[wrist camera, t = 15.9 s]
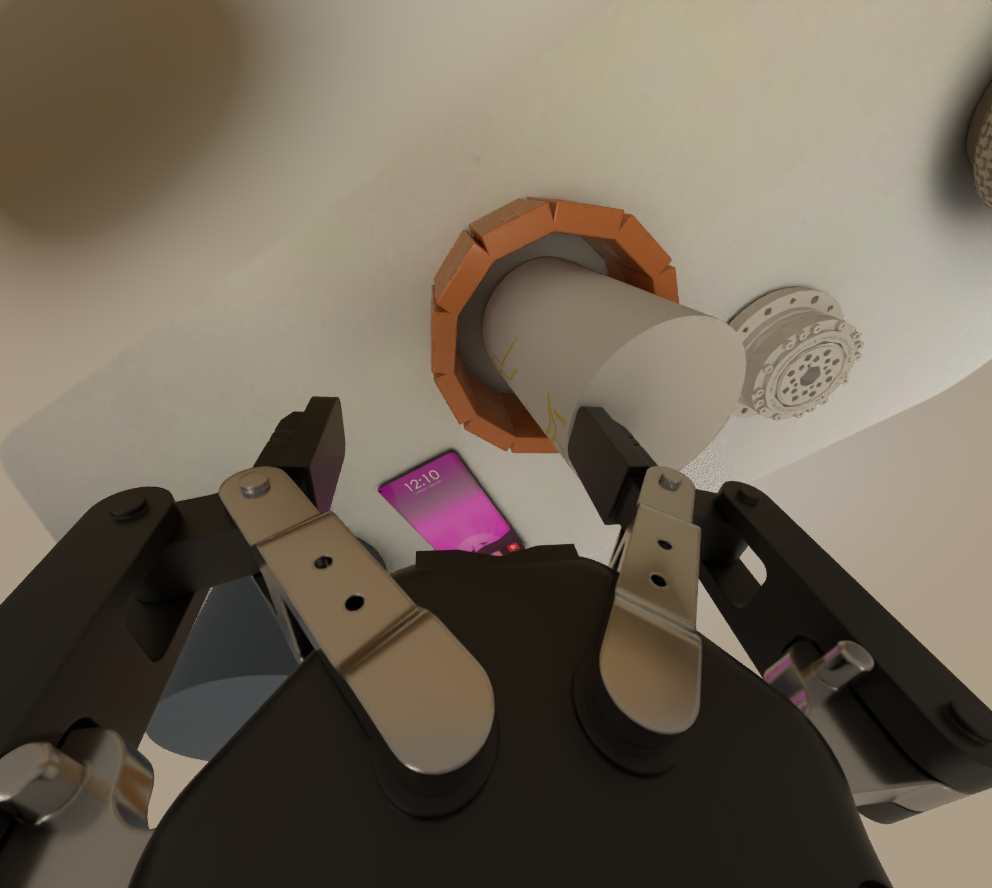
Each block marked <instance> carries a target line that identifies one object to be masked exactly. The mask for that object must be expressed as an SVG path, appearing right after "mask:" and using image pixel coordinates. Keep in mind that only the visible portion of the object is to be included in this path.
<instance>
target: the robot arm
mask: <svg viewBox="0 0 992 888" xmlns="http://www.w3.org/2000/svg"><path fill="white" fill-rule="evenodd" d="M344 457H345V434H344V426H343V418H342V410H341V402H340V399H339V397H319V396H313V397H312V398H311V399H310V401H309V403H308V405H307V407H306V409H305V411H304V412H292V413H291V414H289V415H288V416H286V417H285V418H283V419H282V420H281V421H280V422H279V424H278V426H277V427H276V429H275V433H274V432H273V434H272V436H271V437H270V441H268V442H267V444H266V446H265V447H264V449H263V451H262V452H261V454H260V456H259V457H258V459H257V461H256V462H255V464H254V466H253V467H252V468H249V469H246V470H243V471H240V472H238V473H236V474H234V475H232V476H231V477H229V478H228V479H227V480H225V481H224V482H223V483H222V485H221V486H220V488H219V493H216V494H212V495H208V496H203V497H198V498H193V499H188V500H183V501H178V502H175V500H174V498H173V496H172V494H171V493H170V492H169V491H168V490H166V489H164V488H160V487H139V488H133V489H129V490H125V491H122V492H119V493H116V494H114V495H111V496H109V497H107V498H105V499H103V500H101V501H100V502H98V503H97V504H95V505H94V506H92V507H91V508H90V509H89V510H88V511H87V512H86V513H85V514H84V515H83V516H82V517H81V518H80V520H79V521H78V522H77V523H76V524H75V525H74V526H73V527H72V528H71V529H70V530H69V531H68V533H67V534H66V535H65V536H64V537H63V538H62V539H61V540H60V541H59V542H58V543H57V544H56V545H55V547H54V548H53V549H52V550H51V551H50V552H49V553H48V554H47V555H46V556H45V557H44V559H43V560H42V561H41V562H40V563H39V564H38V565H37V566H36V567H35V568H34V569H33V570H32V571H31V572H30V574H29V575H28V576H27V577H26V578H25V579H24V580H23V581H22V582H21V583H20V584H19V585H18V586H17V588H16V589H15V590H14V591H13V592H12V593H11V594H10V595H9V596H8V597H7V598H6V600H5V601H4V602H3V603H2V604H1V605H0V888H893V886H892V884H891V882H890V881H889V879H888V877H887V875H886V873H885V871H884V869H883V867H882V865H881V863H880V861H879V859H878V857H877V855H876V853H875V851H874V849H873V846H872V844H871V842H870V840H869V838H868V835H867V833H866V831H865V828H864V826H863V823H862V821H861V818H860V816H859V813H860V814H862V815H864V816H865V817H867V818H869V819H871V820H873V821H875V822H878V823H882V824H892V823H894V822H897V821H900V820H903V819H905V818H908V817H911V816H914V815H917V814H920V813H922V812H925V811H928V810H930V809H934V808H936V807H939V806H942V805H945V804H948V803H950V802H953V801H956V800H959V799H961V798H964V797H967V796H970V795H973V794H975V793H978V792H981V791H984V790H987V789H989V788H992V711H991V710H990V709H989V708H988V707H987V706H986V705H985V704H984V703H983V702H982V701H981V700H980V699H979V698H978V697H976V695H975V694H973V693H972V692H971V691H970V690H969V689H968V688H967V687H966V686H965V685H964V684H963V683H962V682H961V681H960V680H959V679H958V678H957V677H956V676H955V675H954V674H953V673H952V672H951V671H950V670H948V669H947V668H946V667H945V666H944V665H943V664H942V663H941V662H940V661H939V660H938V659H937V658H936V657H935V656H934V655H933V654H932V653H931V652H929V650H928V649H926V647H924V646H923V645H922V644H921V643H920V642H919V641H918V640H917V639H916V638H915V637H914V636H913V635H912V634H911V633H910V632H909V631H908V630H907V629H905V627H904V626H903V625H901V623H900V622H898V621H897V620H896V619H895V618H894V617H893V616H892V615H891V614H890V613H889V612H888V611H887V610H886V609H885V608H884V607H883V606H882V605H881V604H880V603H879V602H878V601H876V600H875V598H873V597H872V596H871V595H870V594H869V593H868V592H867V591H866V590H865V589H864V588H863V587H862V586H861V585H860V584H859V583H858V582H857V581H856V580H855V579H854V578H853V577H852V576H850V575H849V574H848V573H847V572H846V571H845V570H844V569H843V568H842V567H841V566H840V565H839V564H838V563H837V562H836V561H835V560H834V559H833V558H832V557H831V556H830V555H829V554H827V552H826V551H824V550H823V549H822V548H821V547H820V546H819V545H818V544H817V543H816V542H815V541H814V540H813V539H812V538H811V537H810V536H809V535H808V534H807V533H806V532H805V531H804V530H803V529H802V528H801V527H799V526H798V525H797V524H796V523H795V522H794V521H793V520H792V519H791V518H790V517H789V516H788V515H787V514H786V513H785V512H784V511H783V510H782V509H781V508H779V506H778V505H776V504H775V503H774V502H773V501H772V500H771V499H770V498H769V497H768V496H767V495H766V494H764V493H763V492H762V491H760V490H758V489H757V488H755V487H753V486H750V485H748V484H745V483H742V482H737V481H728V482H725V483H724V484H723V485H722V487H721V488H720V490H719V491H718V493H713V492H708V491H703V490H699V489H695V486H694V484H693V482H692V481H691V480H690V479H689V478H688V477H687V476H685V475H684V474H682V473H681V472H679V471H677V470H675V469H672V468H669V467H664V466H658V465H657V463H656V462H655V461H654V460H653V459H652V458H651V456H650V455H649V454H648V453H647V452H646V451H645V449H644V448H643V447H642V446H640V443H639V442H638V441H637V440H636V439H634V436H633V435H632V434H631V433H630V432H629V430H628V429H627V428H625V427H624V426H622V425H621V424H619V423H618V422H616V421H614V420H613V419H612V418H611V417H610V415H609V414H608V413H607V412H606V411H605V409H604V408H603V407H592V406H581V407H580V408H579V409H578V411H577V414H576V417H575V421H574V425H573V428H572V432H571V435H570V439H569V442H568V457H569V460H570V462H571V463H572V465H573V467H574V469H575V471H576V473H577V474H578V476H579V478H580V480H581V482H582V484H583V486H584V487H585V489H586V491H587V493H588V495H589V497H590V498H591V500H592V502H593V504H594V506H595V508H596V510H597V511H598V513H599V515H600V517H601V519H602V521H603V522H604V524H605V525H614V524H620V526H621V529H620V532H619V534H618V536H617V539H616V543H615V546H614V549H613V552H612V555H611V558H610V561H609V564H608V566H606V565H604V564H602V563H600V562H597V561H595V560H592V559H588V558H585V557H580V556H578V553H577V551H576V549H575V546H574V544H560V545H540V546H534V547H531V548H527V549H524V550H520V551H517V552H514V553H510V554H507V555H503V556H495V555H489V554H482V553H476V552H470V551H464V550H458V549H456V550H435V551H416V564H415V565H411V566H408V567H405V568H403V569H400V570H398V571H396V572H394V573H392V574H390V575H389V574H388V573H387V572H386V570H385V569H384V568H383V567H382V566H381V565H380V564H379V563H378V561H377V560H376V559H375V558H374V557H373V556H372V555H371V554H370V552H369V551H368V550H367V549H366V548H365V547H364V546H363V545H362V543H361V542H360V541H359V540H358V539H357V538H356V537H355V536H354V535H353V533H352V532H351V531H350V530H349V529H348V528H347V527H346V526H345V524H344V523H343V522H342V521H341V520H340V519H339V518H338V517H337V515H336V514H335V513H333V512H332V511H330V507H331V503H332V500H333V496H334V493H335V489H336V485H337V482H338V478H339V475H340V471H341V468H342V464H343V461H344ZM748 545H749V546H750V548H751V549H752V550H753V551H754V552H755V554H756V555H757V556H758V557H759V558H760V559H761V561H762V562H763V563H764V565H765V568H766V571H767V577H766V580H765V582H764V583H763V585H762V586H761V585H760V584H759V583H758V581H757V580H756V579H755V578H754V577H753V575H752V574H751V573H750V571H749V570H748V569H747V568H746V566H745V565H744V564H743V562H742V561H741V560H740V559H739V557H740V556H741V555H742V553H743V552H744V551H745V549H746V548H747V547H748ZM247 576H250V577H251V578H252V580H253V582H254V584H255V585H256V587H257V589H258V590H259V592H260V594H261V596H262V597H263V599H264V601H265V602H266V604H267V606H268V607H269V609H270V611H271V613H272V614H273V616H274V618H275V619H276V621H277V623H278V625H279V626H280V628H281V630H282V632H283V634H284V636H285V638H286V641H287V643H288V645H289V647H290V649H291V651H292V653H293V655H294V657H295V659H296V661H297V662H298V664H299V666H298V667H297V668H296V669H295V670H294V671H293V672H292V673H291V674H290V675H289V676H288V677H287V679H286V680H285V681H284V682H283V683H282V684H281V685H280V686H279V687H278V688H277V689H276V690H275V691H274V692H273V693H272V695H271V696H270V697H269V698H268V699H267V700H266V701H265V702H264V703H263V704H262V705H261V706H260V707H259V708H258V710H257V711H256V712H255V713H254V714H253V715H252V716H251V717H250V718H249V719H248V720H247V721H246V722H245V723H244V725H243V726H242V727H241V728H240V729H239V730H238V731H237V732H236V733H235V734H234V735H233V736H232V737H231V738H230V740H229V741H228V742H227V743H226V744H225V745H224V746H223V747H222V748H221V749H220V750H219V751H218V752H217V753H216V754H215V756H214V757H213V758H212V759H211V760H210V761H209V762H208V763H207V764H206V765H205V766H204V767H203V769H202V770H201V771H200V772H199V773H198V774H197V775H196V776H195V777H194V778H193V779H192V780H191V781H190V783H189V784H188V785H187V786H186V787H185V788H184V789H183V791H182V792H181V793H180V794H179V796H178V797H177V798H176V799H175V801H174V802H173V803H172V805H171V806H170V808H169V809H168V810H167V812H166V813H165V815H164V816H163V818H162V819H161V821H160V823H159V824H158V826H157V827H156V828H154V829H149V827H148V819H147V814H148V805H149V801H150V798H151V794H152V790H153V786H154V770H153V768H152V765H151V763H150V762H149V760H148V759H147V758H146V757H145V756H143V755H142V754H141V753H140V752H139V751H138V750H137V749H138V746H139V744H140V742H141V740H142V737H143V735H144V733H145V731H146V729H147V726H148V724H149V722H150V720H151V718H152V715H153V713H154V711H155V709H156V706H157V704H158V702H159V700H160V698H161V695H162V693H163V691H164V689H165V686H166V684H167V682H168V680H169V678H170V675H171V673H172V671H173V669H174V666H175V664H176V662H177V660H178V658H179V655H180V653H181V651H182V649H183V646H184V644H185V642H186V640H187V638H188V635H189V633H190V631H191V629H192V626H193V624H194V622H195V620H196V618H197V615H198V613H199V611H200V609H201V606H202V604H203V602H204V600H205V598H206V595H207V593H208V591H209V589H210V587H214V586H217V585H220V584H224V583H227V582H230V581H234V580H237V579H240V578H244V577H247ZM698 578H699V580H700V581H701V583H702V584H703V586H704V587H705V589H706V590H707V592H708V594H709V595H710V597H711V598H712V600H713V601H714V603H715V604H716V606H717V608H718V609H719V611H720V612H721V614H722V615H723V617H724V618H725V620H726V622H727V623H728V625H729V626H730V628H731V629H732V631H733V633H734V634H735V636H736V637H737V638H738V640H739V642H740V643H741V645H742V646H743V648H744V650H745V651H746V653H747V654H748V656H749V657H750V659H751V660H752V662H753V664H754V665H755V667H756V668H757V670H758V671H759V673H760V674H761V676H762V678H763V679H764V680H763V679H762V678H761V677H759V676H758V675H757V674H755V673H754V672H753V671H751V670H750V669H749V668H747V667H746V666H744V665H743V664H742V663H740V662H739V661H738V660H736V659H735V658H733V657H732V656H731V655H729V654H728V653H727V652H725V651H724V650H723V649H721V648H720V647H719V646H717V645H716V644H715V643H713V642H712V641H710V640H709V639H708V638H706V637H705V636H704V635H702V634H701V633H700V632H698V631H697V630H696V613H697V596H698ZM858 812H859V813H858Z"/></svg>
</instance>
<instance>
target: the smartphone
mask: <svg viewBox="0 0 992 888" xmlns="http://www.w3.org/2000/svg"><path fill="white" fill-rule="evenodd" d="M378 492H379V493H380V494H381V495H382V496H383V497H384V498H385V499H386V500H387V501H388V502H389V503H390V504H391V505H392V507H393V508H394V509H395V510H396V511H397V512H398V513H399V514H400V515H401V516H402V517H403V518H404V519H405V520H406V521H407V522H408V523H409V524H410V525H411V526H412V527H413V528H414V529H415V530H416V531H417V532H418V533H419V534H420V535H421V536H422V537H423V538H424V539H425V540H426V541H427V542H428V543H429V544H430V545H431V546H432V547H433V548H434V549H435V550H456V549H458V550H464V551H470V552H476V553H482V554H489V555H495V556H503V555H507V554H510V553H514V552H517V551H520V550H524V549H525V547H524V546H523V544H522V543H521V542H520V540H519V539H518V538H517V536H516V535H515V534H514V532H513V531H512V529H511V528H510V527H509V525H508V524H507V523H506V521H505V520H504V519H503V517H502V516H501V515H500V513H499V512H498V510H497V509H496V508H495V506H494V505H493V504H492V502H491V501H490V500H489V498H488V497H487V495H486V494H485V493H484V491H483V490H482V489H481V487H480V486H479V485H478V483H477V482H476V480H475V479H474V478H473V476H472V475H471V474H470V472H469V471H468V470H467V468H466V467H465V466H464V464H463V463H462V461H461V460H460V459H459V457H458V456H457V455H456V453H455V452H453V451H448V452H446V453H444V454H442V455H440V456H438V457H436V458H434V459H432V460H430V461H428V462H426V463H424V464H422V465H420V466H418V467H416V468H414V469H412V470H410V471H408V472H407V473H405V474H403V475H401V476H399V477H397V478H395V479H393V480H391V481H389V482H387V483H385V484H383V485H381V486H380V487H379V488H378Z"/></svg>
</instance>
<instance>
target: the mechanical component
mask: <svg viewBox="0 0 992 888" xmlns="http://www.w3.org/2000/svg"><path fill="white" fill-rule="evenodd" d="M729 326H731V327H732V328H733V329H734V330H735V331H736V333H737V334H738V336H739V337H740V339H741V341H742V344H743V346H744V350H745V356H746V372H745V379H744V384H743V387H742V391H741V394H740V397H739V399H738V401H737V404H736V406H735V408H734V410H733V412H732V414H733V415H736V416H756V415H761V416H763V417H765V418H771V419H773V420H775V421H779V420H780V419H785V418H789V417H793V416H795V417H797V418H800V417H802V416H803V414H804V412H805V411H807V412H813V411H814V410H815V409H816V405H817V404H820V405H824V404H825V403H826V402H827V401H828V398H827V397H828V396H829V395H830V394H831V393H832V392H833V391H834V390H835V389H836V388H837V387H838V386H839V385H840V384H845V383H847V382H848V380H849V378H848V377H846V376H847V375H848V373H849V371H850V370H851V368H852V366H853V364H854V362H855V361H857V360H859V359H860V358H861V357H862V354H861V353H859V352H858V350H860V349H861V348H862V346H863V342H861V341H859V338H860V337H861V334H862V333H859V332H857V331H856V328H855V327H854V326H852V325H851V324H849V323H848V322H846V321H844V320H843V313H842V311H841V308H840V306H839V303H838V302H837V301H836V300H835V299H834V298H832V297H831V296H830V295H829V294H828V293H826V292H821V291H817V290H812V289H808V288H803V287H792V288H785V289H781V290H778V291H774V292H772V293H770V294H768V295H766V296H763V297H761V298H760V299H758V300H757V301H755V302H754V303H752V304H751V305H750V306H748V307H747V308H745V309H744V310H743V311H741V312H740V313H739V314H738V315H737V316H736V317H735V318H734V319H733V320H732V322H731V323H730V324H729Z"/></svg>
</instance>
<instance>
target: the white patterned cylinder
mask: <svg viewBox="0 0 992 888" xmlns="http://www.w3.org/2000/svg"><path fill="white" fill-rule="evenodd" d="M482 337H483V343H484V347H485V350H486V353H487V355H488V357H489V359H490V361H491V362H492V364H493V365H494V366H495V368H496V369H497V370H498V372H499V373H500V374H501V376H502V377H503V378H504V380H505V381H506V382H507V384H508V385H509V386H510V388H511V389H512V390H513V392H514V393H515V394H516V396H517V397H518V398H519V400H520V401H521V402H522V404H523V405H524V406H525V408H526V409H527V410H528V412H529V413H530V414H531V416H532V417H533V418H534V420H535V421H536V422H537V423H538V425H539V426H540V427H541V429H542V430H543V431H544V433H545V434H546V435H547V437H548V438H549V439H550V441H551V442H552V443H553V445H554V446H555V447H556V449H557V450H558V451H559V453H560V454H561V455H562V457H563V458H564V459H565V461H566V462H567V463H568V465H569V466H570V467H571V469H572V470H573V471H574V473H575V474H576V475H577V477H578V478H579V476H578V474H577V473H576V471H575V469H574V467H573V465H572V463H571V462H570V460H569V457H568V442H569V439H570V435H571V432H572V428H573V425H574V421H575V417H576V414H577V411H578V409H579V408H580V407H581V406H592V407H603V408H604V409H605V411H606V412H607V413H608V414H609V415H610V417H611V418H612V419H613V420H614V421H616V422H618V423H619V424H621V425H622V426H624V427H625V428H627V429H628V430H629V432H630V433H631V434H632V435H633V436H634V439H636V440H637V441H638V442H639V443H640V446H642V447H643V448H644V449H645V451H646V452H647V453H648V454H649V455H650V456H651V458H652V459H653V460H654V461H655V462H656V463H657V465H658V466H664V467H669V468H672V469H675V470H677V471H679V470H681V469H682V468H683V467H685V466H686V465H687V464H689V463H690V462H691V461H692V460H694V459H695V458H696V457H697V456H698V455H699V454H700V453H701V452H702V451H703V450H704V449H705V448H706V447H707V446H708V445H709V444H710V443H711V442H712V441H713V440H714V438H715V437H716V436H717V435H718V433H719V432H720V431H721V429H722V428H723V426H724V425H725V423H726V422H727V420H728V419H729V417H730V415H731V414H732V412H733V410H734V408H735V406H736V404H737V401H738V399H739V397H740V394H741V391H742V387H743V384H744V379H745V372H746V356H745V350H744V346H743V344H742V341H741V339H740V337H739V336H738V334H737V333H736V331H735V330H734V329H733V328H732V327H731V326H729V325H728V324H727V323H725V322H723V321H721V320H719V319H717V318H714V317H711V316H709V315H706V314H704V313H701V312H698V311H696V310H693V309H691V308H688V307H686V306H683V305H680V304H678V303H675V302H673V301H670V300H668V299H665V298H662V297H660V296H657V295H655V294H652V293H649V292H647V291H644V290H642V289H639V288H637V287H634V286H631V285H629V284H626V283H624V282H621V281H618V280H616V279H613V278H611V277H608V276H606V275H603V274H600V273H598V272H595V271H593V270H590V269H587V268H585V267H582V266H580V265H577V264H575V263H572V262H569V261H567V260H564V259H560V258H554V257H545V258H538V259H534V260H531V261H528V262H526V263H524V264H522V265H520V266H518V267H517V268H515V269H514V270H513V271H511V272H510V273H509V274H508V275H507V276H506V277H505V278H504V279H503V280H502V281H501V282H500V283H499V284H498V286H497V287H496V289H495V290H494V292H493V293H492V295H491V297H490V299H489V301H488V304H487V306H486V309H485V313H484V317H483V324H482ZM579 479H580V478H579Z"/></svg>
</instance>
